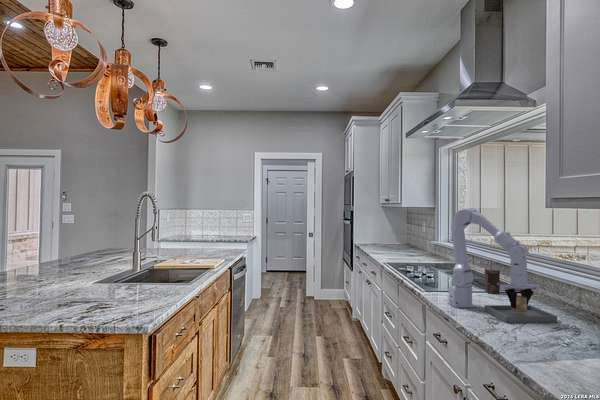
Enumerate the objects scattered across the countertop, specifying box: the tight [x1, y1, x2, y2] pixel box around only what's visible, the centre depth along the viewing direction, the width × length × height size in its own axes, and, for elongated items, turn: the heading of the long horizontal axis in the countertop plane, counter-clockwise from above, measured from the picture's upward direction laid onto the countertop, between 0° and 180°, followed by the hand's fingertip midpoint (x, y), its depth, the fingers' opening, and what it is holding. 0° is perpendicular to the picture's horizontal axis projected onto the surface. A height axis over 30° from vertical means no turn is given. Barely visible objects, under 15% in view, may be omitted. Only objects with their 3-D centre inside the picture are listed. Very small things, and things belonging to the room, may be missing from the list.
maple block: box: [511, 294, 527, 313], centre depth 150 cm, size 4×4×6 cm
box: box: [484, 268, 501, 294], centre depth 191 cm, size 6×4×12 cm
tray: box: [484, 304, 558, 324], centre depth 150 cm, size 20×16×2 cm
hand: (518, 307), depth 150 cm, fingers closed on maple block, 4 cm apart
